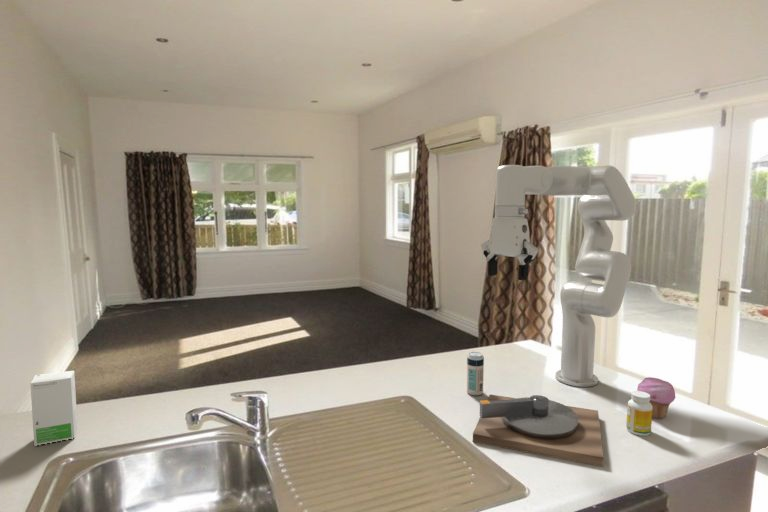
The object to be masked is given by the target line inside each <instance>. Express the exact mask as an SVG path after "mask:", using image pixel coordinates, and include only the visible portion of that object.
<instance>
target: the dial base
mask: <svg viewBox="0 0 768 512" xmlns="http://www.w3.org/2000/svg"><path fill="white" fill-rule="evenodd" d="M509 399H516V397H510V396H509V397H508V396H505V395H504V396H503V395H497V394H496V395H495V394H488V397H487V400H488V401H495V400H509ZM566 406H567V407H569V408H570V409H572V410H573V411H574V412H575V413H576V414H577V416H578V428H577V431H576V432H575V433H574V434H572V435H570V436H568V437H564V438H558V439H544V438H536V437H531V436H527V435H524V434H521V433H519V432H516V431H514V430H512V429H511V428H509V427H508V426H507V425H506V424H505V423H504V422H503V421H502V418H501V417H495V418H481V417H480V416H479V418H478V421H477V423H476V425H475V428H474V430H473V432H472V442H474V443H477V444H478V443H479V444H483V445H487V446H494V447H500V448H504V449H510V450H514V451H515V450H516V451H520V452H525V453H530V454H531V453H532V454H536V455H541V456H547V457H550V458H551V457H552V458H557V459H561V460H562V459H563V460H565V461H566V460H567V461H573V462H576V463H577V462H579V463H583V464H588V465H592V466H593V465H594V466H599V467H604V452H603V451H604V450H603V444H602V434H601V433H602V432H601V427H600V426H601V425H600V416H599V410H597V409H590V408H583V407H576V406H570V405H566Z"/></svg>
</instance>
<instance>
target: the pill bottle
mask: <svg viewBox="0 0 768 512" xmlns="http://www.w3.org/2000/svg"><path fill="white" fill-rule="evenodd" d="M484 362H485V359H484V355H483V353H481V352H478V351H472V352H469V353H468V354H467V359H466V392H467V393H468V394H469V395H471V396H475V397H476V396H481V395H482V394H483V393H484V372H485V371H484V369H485V368H484V366H485V365H484V364H485V363H484Z"/></svg>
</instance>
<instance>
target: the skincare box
mask: <svg viewBox="0 0 768 512" xmlns="http://www.w3.org/2000/svg"><path fill="white" fill-rule="evenodd" d="M75 375H76V374H75V370H66V371H55V372H49V373H43V374H42V373H40V374H35V375H34V376H33V378H32V380H31V382H30V396H31V397H30V399H31V413H32V415H31V416H32V430H33V444H34V447H38V446H37V445H39V446H42V445H41V444H45V445H48V444H47V443H50V444H53V443H52V442H56V443H58V442H57V441H61V442H63V441H62V440H66V441H68V440H67V439H72V438H74V439H75V438H76V435H77V431H78V414H77V413H78V411H77V395H76V394H77V393H76V381H75V380H76V378H75ZM72 440H73V439H72Z"/></svg>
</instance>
